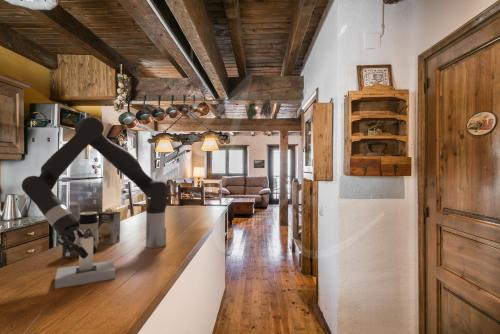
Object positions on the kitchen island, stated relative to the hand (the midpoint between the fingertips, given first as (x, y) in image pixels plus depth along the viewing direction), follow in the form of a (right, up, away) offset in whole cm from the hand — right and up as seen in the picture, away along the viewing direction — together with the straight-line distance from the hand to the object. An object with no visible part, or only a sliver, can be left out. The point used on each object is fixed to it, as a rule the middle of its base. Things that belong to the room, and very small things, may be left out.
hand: (91, 254), depth 103 cm
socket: (-2, -8, 0) cm, 9 cm away
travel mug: (-21, -9, +34) cm, 41 cm away
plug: (-2, -5, 0) cm, 5 cm away
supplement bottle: (-23, -9, +24) cm, 34 cm away
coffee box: (-18, -9, +49) cm, 53 cm away
